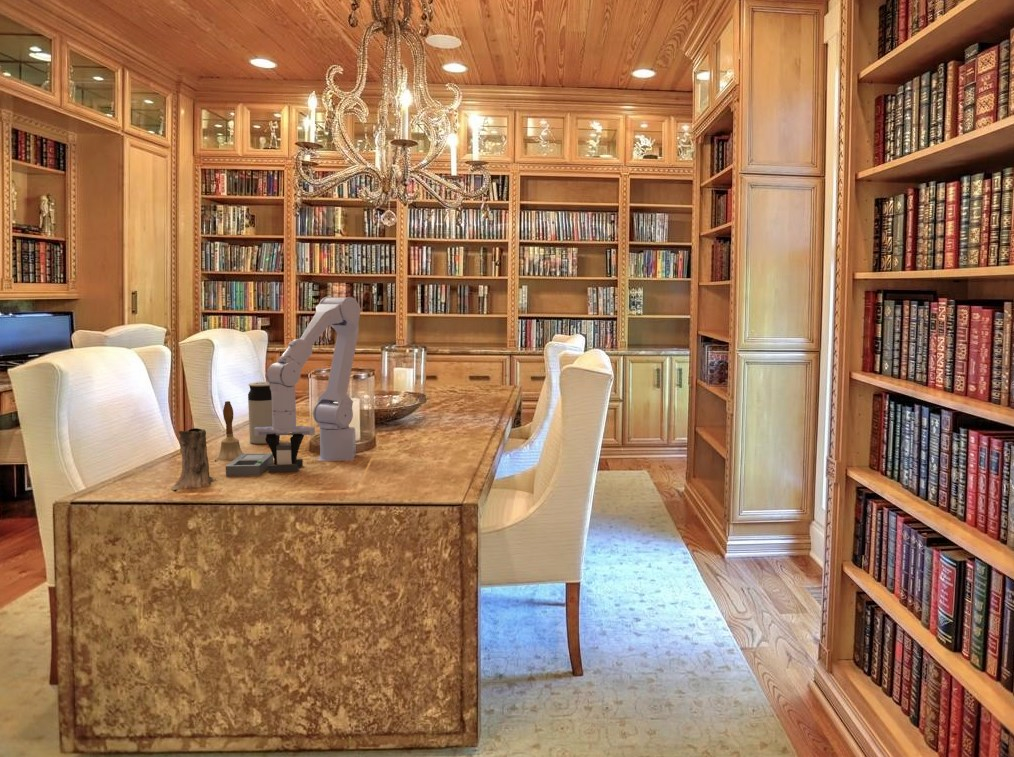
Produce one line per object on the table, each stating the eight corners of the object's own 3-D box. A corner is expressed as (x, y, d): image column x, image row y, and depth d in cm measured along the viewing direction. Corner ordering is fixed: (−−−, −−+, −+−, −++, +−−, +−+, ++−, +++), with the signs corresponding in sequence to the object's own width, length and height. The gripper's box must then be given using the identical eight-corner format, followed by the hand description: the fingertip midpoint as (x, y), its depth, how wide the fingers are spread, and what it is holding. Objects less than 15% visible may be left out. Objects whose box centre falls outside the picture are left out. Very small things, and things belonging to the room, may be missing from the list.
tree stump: (170, 493, 162) (168, 434, 161) (172, 483, 171) (170, 427, 170) (218, 489, 166) (216, 432, 165) (217, 480, 175) (215, 425, 174)
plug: (294, 467, 185) (293, 442, 184) (291, 470, 181) (290, 445, 180) (280, 467, 184) (279, 442, 184) (277, 471, 181) (276, 445, 180)
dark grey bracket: (302, 467, 187) (302, 458, 186) (297, 474, 180) (296, 465, 179) (275, 468, 186) (274, 459, 186) (268, 475, 179) (268, 465, 179)
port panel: (273, 464, 190) (273, 451, 190) (259, 477, 177) (259, 464, 176) (242, 464, 190) (241, 452, 189) (226, 478, 176) (225, 464, 176)
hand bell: (236, 463, 191) (233, 404, 190) (208, 461, 193) (205, 403, 191) (253, 456, 200) (250, 399, 198) (226, 455, 201) (223, 398, 199)
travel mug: (283, 441, 221) (281, 382, 218) (261, 445, 214) (259, 385, 212) (265, 438, 225) (263, 380, 223) (244, 442, 218) (241, 383, 216)
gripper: (250, 413, 177) (252, 467, 178) (310, 412, 178) (311, 466, 179) (257, 408, 184) (259, 460, 185) (315, 408, 185) (317, 460, 186)
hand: (285, 463), depth 183 cm, fingers closed on plug, 3 cm apart
